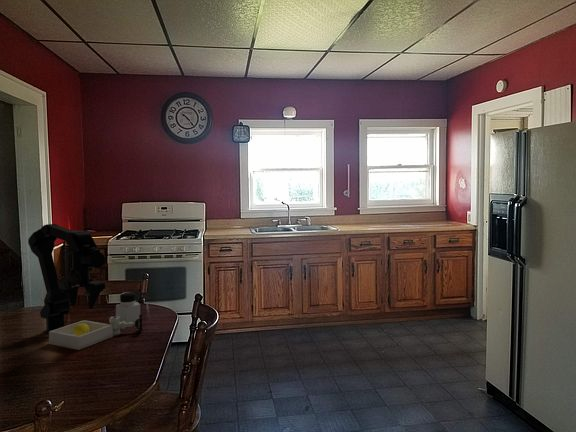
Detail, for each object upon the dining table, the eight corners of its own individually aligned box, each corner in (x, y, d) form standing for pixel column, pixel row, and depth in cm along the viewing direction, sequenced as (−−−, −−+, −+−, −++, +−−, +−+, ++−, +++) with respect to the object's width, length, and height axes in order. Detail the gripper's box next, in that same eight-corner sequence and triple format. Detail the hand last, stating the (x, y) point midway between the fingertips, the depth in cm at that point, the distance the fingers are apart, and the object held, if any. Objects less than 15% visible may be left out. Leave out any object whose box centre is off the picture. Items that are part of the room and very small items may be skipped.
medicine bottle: (140, 320, 185) (140, 292, 184) (126, 324, 179) (125, 295, 178) (130, 317, 189) (129, 290, 188) (115, 321, 183) (115, 293, 182)
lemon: (72, 338, 161) (71, 323, 162) (88, 335, 164) (87, 320, 165) (75, 340, 156) (74, 325, 156) (91, 337, 159) (91, 323, 159)
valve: (108, 337, 164) (142, 333, 168) (108, 320, 163) (142, 317, 167) (109, 332, 170) (141, 328, 174) (108, 315, 169) (141, 312, 174)
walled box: (49, 343, 157) (48, 331, 157) (84, 331, 170) (83, 320, 170) (78, 350, 151) (78, 337, 150) (112, 336, 164) (112, 325, 164)
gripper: (43, 267, 157) (44, 309, 158) (79, 271, 149) (81, 316, 150) (70, 262, 167) (71, 302, 168) (106, 266, 159) (107, 308, 160)
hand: (82, 307), depth 161 cm, fingers open, 9 cm apart
